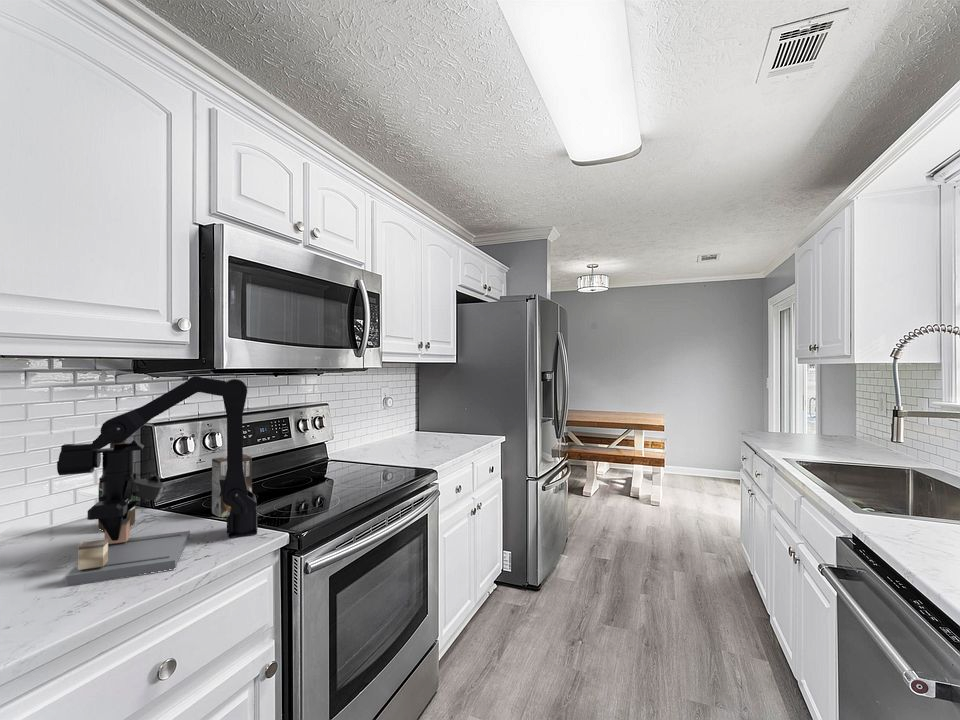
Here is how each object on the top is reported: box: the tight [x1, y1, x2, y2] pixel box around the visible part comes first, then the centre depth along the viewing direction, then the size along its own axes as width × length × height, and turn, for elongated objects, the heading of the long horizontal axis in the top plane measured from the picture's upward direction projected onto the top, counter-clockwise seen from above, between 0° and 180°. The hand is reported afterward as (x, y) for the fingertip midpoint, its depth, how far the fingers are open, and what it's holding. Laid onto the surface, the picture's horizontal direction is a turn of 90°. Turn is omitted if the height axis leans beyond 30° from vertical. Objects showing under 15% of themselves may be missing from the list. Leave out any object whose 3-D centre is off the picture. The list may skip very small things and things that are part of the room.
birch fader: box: [77, 538, 108, 570], centre depth 94 cm, size 4×3×4 cm
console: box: [66, 530, 191, 587], centre depth 103 cm, size 18×19×2 cm
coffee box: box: [211, 453, 253, 518], centre depth 137 cm, size 9×6×16 cm
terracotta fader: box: [104, 518, 131, 544], centre depth 107 cm, size 4×3×4 cm
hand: (117, 537), depth 107 cm, fingers closed on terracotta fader, 3 cm apart
